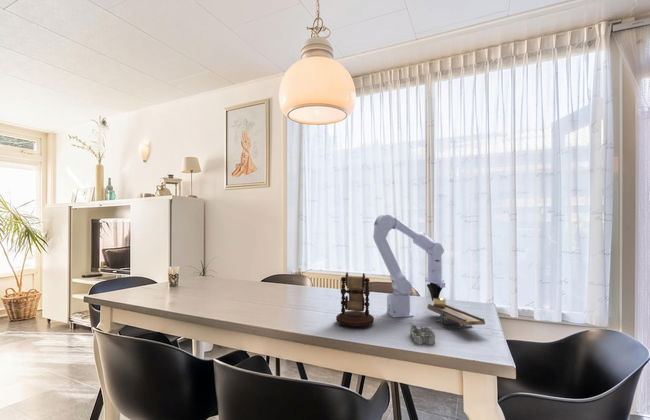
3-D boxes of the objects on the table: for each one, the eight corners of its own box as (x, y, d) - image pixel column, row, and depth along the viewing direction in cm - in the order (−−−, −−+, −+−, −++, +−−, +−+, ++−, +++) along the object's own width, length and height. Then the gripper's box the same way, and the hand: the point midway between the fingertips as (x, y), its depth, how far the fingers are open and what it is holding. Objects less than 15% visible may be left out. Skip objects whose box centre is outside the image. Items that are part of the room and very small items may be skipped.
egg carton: (409, 333, 116) (409, 322, 116) (431, 334, 115) (430, 323, 115) (412, 344, 106) (412, 332, 106) (436, 346, 105) (436, 333, 105)
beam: (463, 325, 112) (463, 319, 112) (427, 308, 139) (427, 304, 139) (485, 324, 113) (484, 318, 113) (444, 308, 140) (444, 303, 140)
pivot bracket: (445, 328, 121) (445, 316, 121) (435, 322, 129) (435, 311, 129) (472, 327, 123) (472, 315, 123) (460, 321, 130) (460, 310, 131)
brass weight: (436, 308, 134) (436, 299, 134) (431, 306, 139) (431, 297, 139) (448, 308, 135) (447, 299, 135) (442, 305, 140) (441, 297, 140)
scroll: (375, 319, 132) (375, 270, 133) (371, 331, 118) (371, 276, 118) (340, 317, 136) (340, 269, 136) (332, 328, 121) (332, 274, 122)
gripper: (451, 272, 135) (452, 304, 134) (435, 267, 149) (435, 296, 149) (436, 272, 134) (436, 305, 133) (420, 267, 148) (421, 297, 148)
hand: (434, 301), depth 141 cm, fingers closed
